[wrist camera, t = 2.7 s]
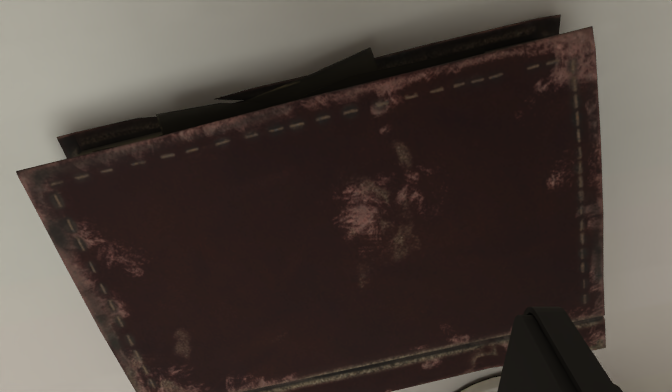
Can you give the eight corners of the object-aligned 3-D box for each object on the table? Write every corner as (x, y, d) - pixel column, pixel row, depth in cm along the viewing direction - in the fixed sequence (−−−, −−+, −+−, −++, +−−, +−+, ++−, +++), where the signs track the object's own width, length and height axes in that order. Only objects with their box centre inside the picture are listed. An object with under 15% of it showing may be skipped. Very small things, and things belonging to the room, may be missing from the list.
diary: (571, 305, 35) (610, 363, 30) (183, 387, 36) (165, 454, 32) (550, -7, 27) (599, 8, 22) (53, 119, 28) (4, 156, 24)
